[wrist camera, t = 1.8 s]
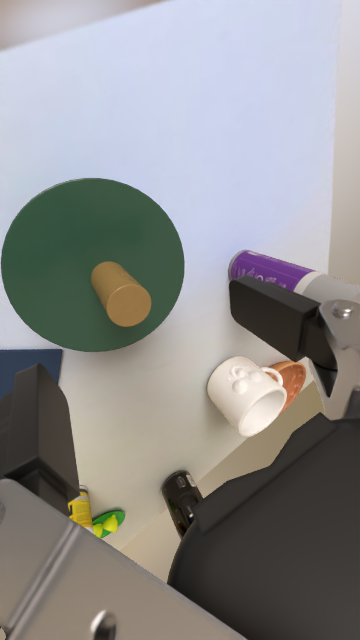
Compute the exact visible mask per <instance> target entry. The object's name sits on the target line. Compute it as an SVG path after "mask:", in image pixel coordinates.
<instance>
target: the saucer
mask: <svg viewBox="0 0 360 640" xmlns="http://www.w3.org/2000/svg"><path fill="white" fill-rule="evenodd" d="M269 368H272V369H274V370H276V371H277V372H278V373H279V374H280V375H281V376H282V379H283V385H282V387H283V388H284V389H285V390H286V392H287V399H286V402H285V405H284V407H283V409H282V410H281V412H280V413H279V415H280V414H281V413H282V412H283V411H284V410H285V409H287V407H288V406H289V405H290V404H291V403H292V402H293V401H294V399H295V398H296V397H297V395H298V394H299V392H300V390H301V388H302V386H303V384H304V381H305V378H306V369H305V367H304V365H303V364H301V363H299V362H296V363H295V362H293V361H285V362H281V363H277V364H275V365H272V366H271V367H269ZM265 373H266V374H268V375H269V376H270V377H271V378H273V379H274V380H275V381H276V382H278V380H277V378H276V376H275V375H273V374H272V373H269V372H265Z"/></svg>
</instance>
